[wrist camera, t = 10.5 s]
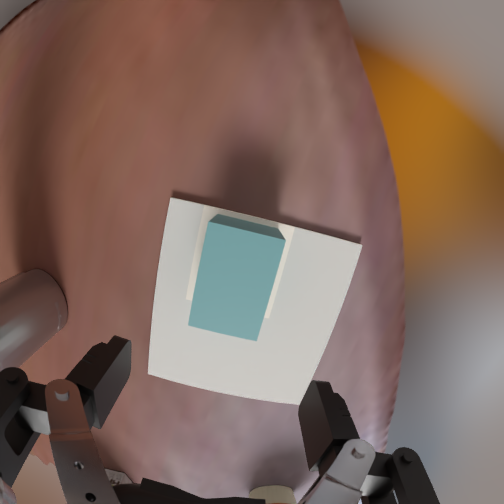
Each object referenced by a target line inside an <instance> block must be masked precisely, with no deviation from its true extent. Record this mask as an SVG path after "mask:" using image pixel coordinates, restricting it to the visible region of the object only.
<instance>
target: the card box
mask: <svg viewBox="0 0 504 504" xmlns="http://www.w3.org/2000/svg"><path fill="white" fill-rule="evenodd" d="M285 242H286V240H285V238H284V237H283V235H282V233H281V232H280V230H279V229H278V228H274V227H270V226H266V225H262V224H258V223H254V222H250V221H246V220H242V219H238V218H233V217H229V216H225V215H221V214H217V215H216V216H214V217H213V218H212V219H211V220H209V221H208V225H207V230H206V234H205V239H204V244H203V248H202V253H201V258H200V263H199V268H198V273H197V278H196V283H195V289H194V294H193V299H192V305H191V310H190V316H189V322H188V326H192V327H196V328H200V329H204V330H208V331H212V332H216V333H220V334H225V335H229V336H234V337H238V338H243V339H248V340H252V341H257V338H258V335H259V332H260V329H261V325H262V322H263V319H264V315H265V312H266V309H267V305H268V302H269V298H270V295H271V291H272V288H273V285H274V281H275V278H276V274H277V271H278V267H279V264H280V260H281V256H282V253H283V249H284V246H285Z"/></svg>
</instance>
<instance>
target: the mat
mask: <svg viewBox="0 0 504 504" xmlns="http://www.w3.org/2000/svg"><path fill="white" fill-rule="evenodd" d="M217 214H221V215H225V216H229V217H233V218H238V219H242V220H246V221H250V222H254V223H258V224H262V225H266V226H270V227H274V228H278V229H279V230H280V232H281V233H282V235H283V237H284V238H285V240H286V242H285V246H284V249H283V253H282V256H281V260H280V264H279V267H278V271H277V274H276V278H275V281H274V285H273V288H272V291H271V295H270V298H269V302H268V305H267V309H266V312H265V315H264V319H263V322H262V325H261V329H260V332H259V335H258V338H257V341H252V340H248V339H243V338H238V337H234V336H229V335H225V334H220V333H216V332H212V331H208V330H204V329H200V328H196V327H192V326H188V322H189V316H190V310H191V305H192V299H193V294H194V289H195V283H196V278H197V273H198V268H199V263H200V258H201V253H202V248H203V244H204V239H205V234H206V230H207V225H208V221H209V220H211V219H212V218H213V217H214V216H216V215H217ZM361 248H362V245H361V244H358V243H355V242H351V241H347V240H344V239H340V238H337V237H333V236H329V235H326V234H322V233H318V232H314V231H311V230H307V229H303V228H299V227H295V226H292V225H288V224H284V223H280V222H276V221H272V220H268V219H264V218H260V217H256V216H252V215H247V214H243V213H239V212H235V211H231V210H226V209H222V208H218V207H213V206H209V205H205V204H200V203H196V202H191V201H187V200H182V199H177V198H173V197H172V198H170V203H169V208H168V213H167V218H166V224H165V229H164V235H163V241H162V247H161V253H160V260H159V266H158V273H157V281H156V288H155V296H154V305H153V314H152V325H151V336H150V349H149V364H148V374H150V375H154V376H157V377H160V378H164V379H167V380H171V381H174V382H178V383H182V384H186V385H190V386H194V387H198V388H202V389H206V390H211V391H215V392H220V393H225V394H230V395H235V396H241V397H246V398H252V399H259V400H265V401H272V402H280V403H288V404H298V405H299V404H300V402H301V400H302V398H303V396H304V394H305V392H306V390H307V387H308V385H309V383H310V381H311V379H312V377H313V375H314V372H315V370H316V368H317V366H318V364H319V361H320V359H321V357H322V354H323V352H324V350H325V347H326V345H327V343H328V340H329V338H330V335H331V333H332V330H333V328H334V325H335V323H336V320H337V318H338V315H339V312H340V310H341V307H342V304H343V302H344V299H345V296H346V293H347V291H348V288H349V285H350V282H351V279H352V276H353V273H354V270H355V267H356V264H357V261H358V258H359V255H360V252H361Z"/></svg>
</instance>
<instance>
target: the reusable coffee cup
mask: <svg viewBox="0 0 504 504" xmlns="http://www.w3.org/2000/svg"><path fill="white" fill-rule="evenodd" d="M249 498H254V499H265V500H266V504H296V500H295V497H294V494H293V490H292V489H291V488H289V487H286V486H280V485H270V486H262V487H258V488H255V489H253V490H252V491H250V493H249Z"/></svg>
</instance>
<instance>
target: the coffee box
mask: <svg viewBox="0 0 504 504" xmlns="http://www.w3.org/2000/svg"><path fill="white" fill-rule="evenodd" d="M104 469H105V468H104ZM105 471H106V473H107V476H108V478H109V480H110V483H111V485H112V486H114V485H118V484H126V483H132V481H131V480H130V479H129V478H128V477H127V476H126V474H125V473H122V472H117V471H113V470H109V469H105Z"/></svg>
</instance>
